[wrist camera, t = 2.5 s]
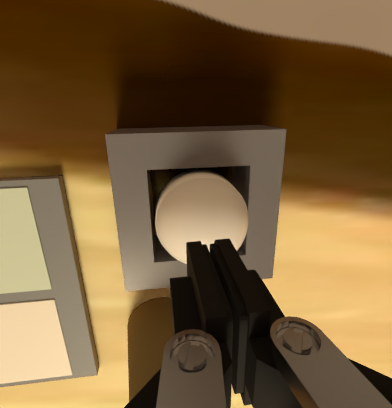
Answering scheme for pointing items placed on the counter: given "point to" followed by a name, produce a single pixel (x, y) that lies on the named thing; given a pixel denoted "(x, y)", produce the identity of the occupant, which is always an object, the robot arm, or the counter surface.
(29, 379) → the game board
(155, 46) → the counter surface
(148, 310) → the brown pepper mill
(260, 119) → the counter surface
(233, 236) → the cream white ball
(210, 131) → the gray square holder
